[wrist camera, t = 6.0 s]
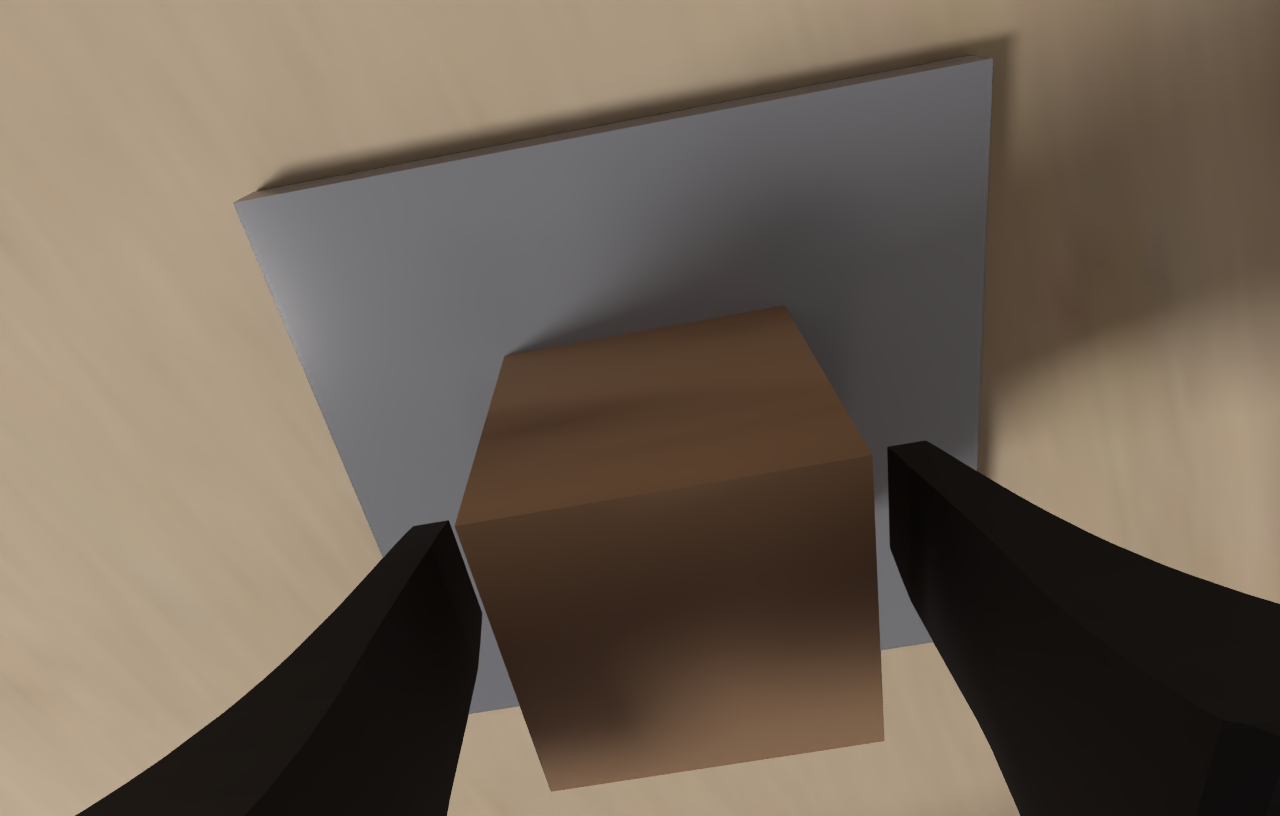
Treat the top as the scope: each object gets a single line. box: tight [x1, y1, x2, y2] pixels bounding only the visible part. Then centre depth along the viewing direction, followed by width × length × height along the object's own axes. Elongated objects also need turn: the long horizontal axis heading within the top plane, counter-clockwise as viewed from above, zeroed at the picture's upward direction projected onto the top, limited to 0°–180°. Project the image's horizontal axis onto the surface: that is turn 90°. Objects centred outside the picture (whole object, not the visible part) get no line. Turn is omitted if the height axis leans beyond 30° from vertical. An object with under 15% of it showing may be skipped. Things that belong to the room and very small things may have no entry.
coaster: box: [233, 55, 993, 714], centre depth 15 cm, size 12×12×1 cm
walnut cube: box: [455, 305, 884, 791], centre depth 12 cm, size 5×5×5 cm
